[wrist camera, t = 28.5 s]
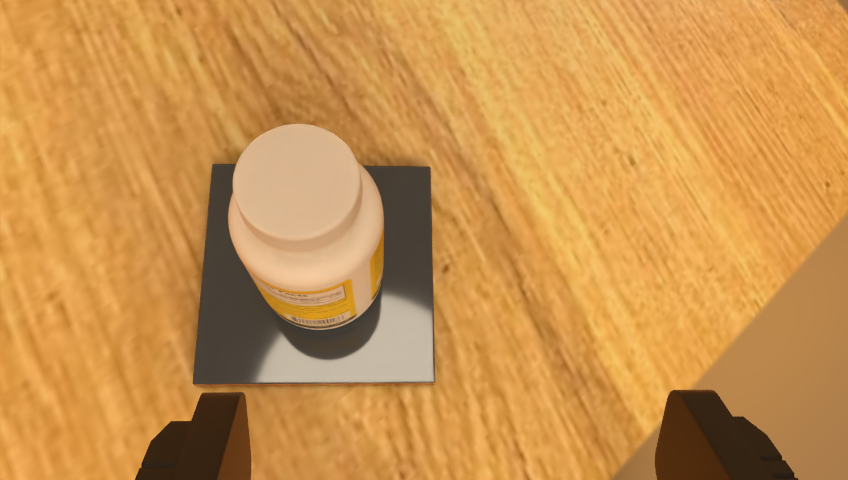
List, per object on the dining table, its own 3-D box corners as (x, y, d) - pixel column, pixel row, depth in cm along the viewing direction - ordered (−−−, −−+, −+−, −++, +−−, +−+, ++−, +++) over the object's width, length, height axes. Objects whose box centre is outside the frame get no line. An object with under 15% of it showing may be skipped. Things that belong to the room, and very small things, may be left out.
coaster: (429, 171, 34) (430, 166, 34) (434, 384, 31) (435, 382, 30) (214, 168, 34) (212, 163, 33) (195, 386, 30) (192, 384, 30)
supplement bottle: (326, 190, 33) (308, 72, 24) (408, 275, 32) (422, 185, 23) (232, 268, 31) (173, 173, 22) (314, 359, 30) (288, 299, 21)
